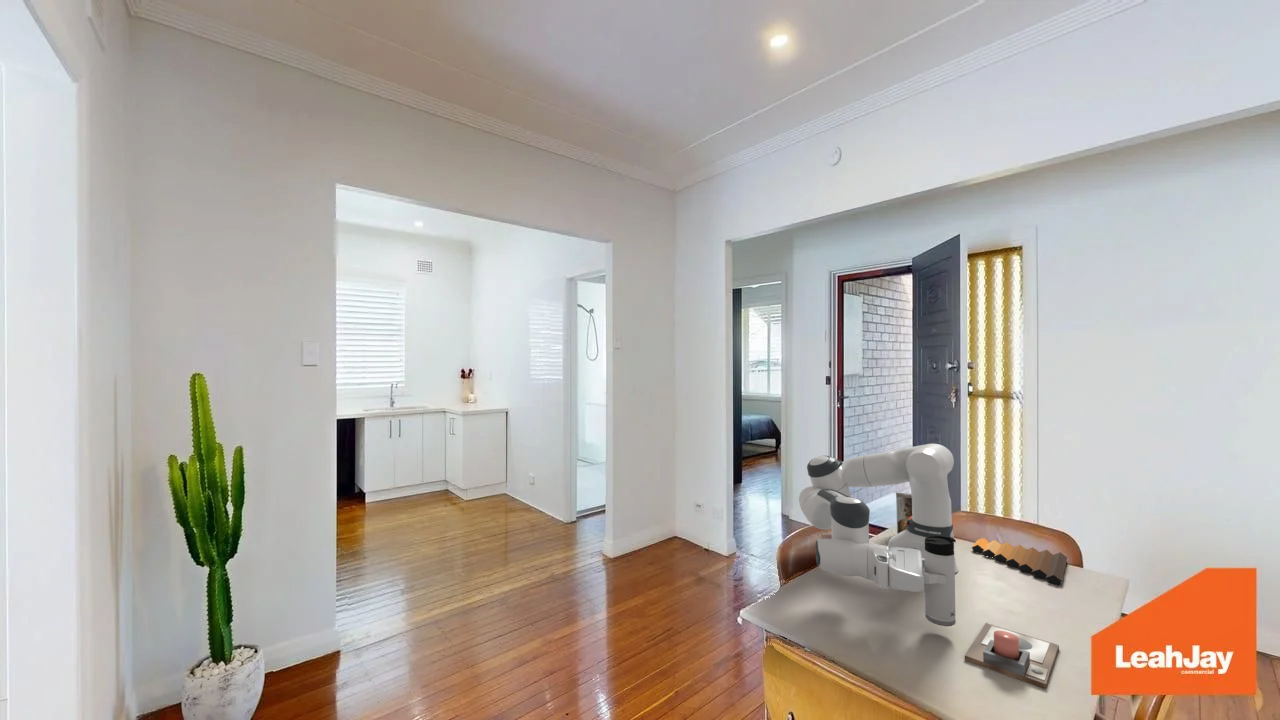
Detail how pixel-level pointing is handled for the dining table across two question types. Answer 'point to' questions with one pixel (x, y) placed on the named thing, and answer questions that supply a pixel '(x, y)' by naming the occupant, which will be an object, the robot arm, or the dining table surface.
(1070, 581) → the dining table surface
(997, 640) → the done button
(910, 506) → the coffee box
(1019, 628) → the dining table surface
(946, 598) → the travel mug
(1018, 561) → the pan flute
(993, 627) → the brown board with holder
